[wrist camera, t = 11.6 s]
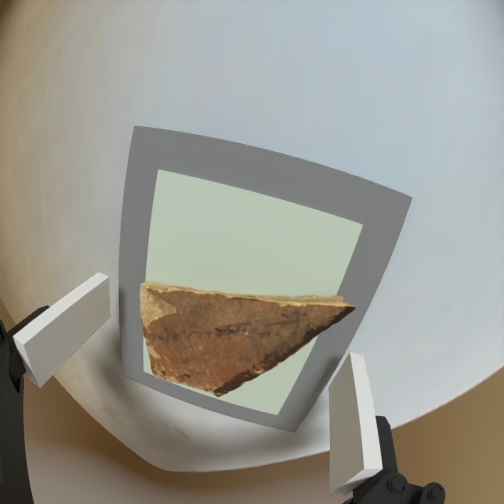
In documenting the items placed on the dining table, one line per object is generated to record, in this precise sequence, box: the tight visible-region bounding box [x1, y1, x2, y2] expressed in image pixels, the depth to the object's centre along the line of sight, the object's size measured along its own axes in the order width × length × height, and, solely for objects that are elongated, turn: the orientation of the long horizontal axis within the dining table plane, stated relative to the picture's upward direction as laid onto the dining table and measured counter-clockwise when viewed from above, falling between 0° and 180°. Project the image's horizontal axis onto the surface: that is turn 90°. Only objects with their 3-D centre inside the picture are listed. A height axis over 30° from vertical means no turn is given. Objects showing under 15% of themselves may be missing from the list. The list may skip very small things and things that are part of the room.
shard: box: [140, 281, 356, 397], centre depth 15 cm, size 11×8×2 cm
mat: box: [119, 126, 412, 432], centre depth 16 cm, size 14×18×1 cm
